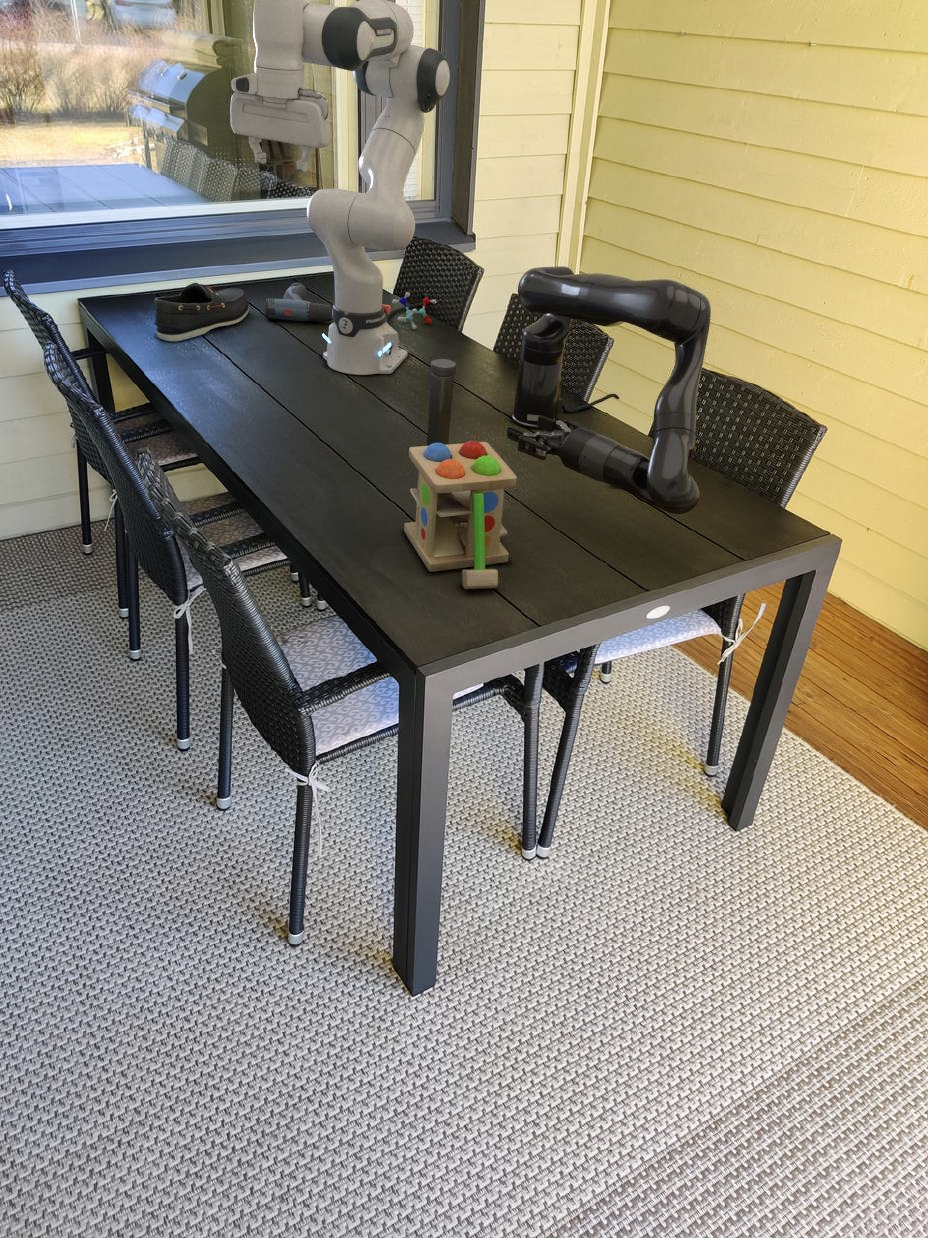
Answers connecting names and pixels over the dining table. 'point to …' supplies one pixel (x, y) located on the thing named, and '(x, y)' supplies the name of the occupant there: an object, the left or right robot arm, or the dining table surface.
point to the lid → (443, 367)
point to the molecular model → (414, 310)
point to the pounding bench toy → (460, 509)
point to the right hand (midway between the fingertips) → (523, 426)
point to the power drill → (297, 306)
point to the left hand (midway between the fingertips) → (281, 166)
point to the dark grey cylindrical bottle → (440, 409)
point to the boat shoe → (198, 311)
